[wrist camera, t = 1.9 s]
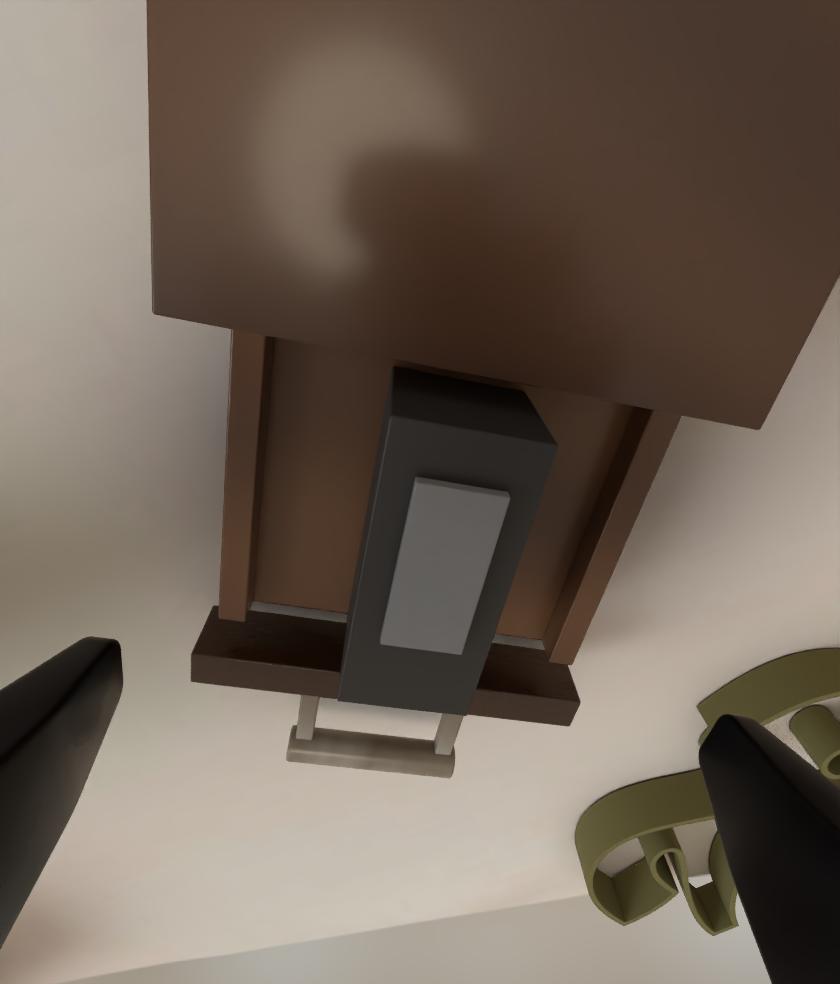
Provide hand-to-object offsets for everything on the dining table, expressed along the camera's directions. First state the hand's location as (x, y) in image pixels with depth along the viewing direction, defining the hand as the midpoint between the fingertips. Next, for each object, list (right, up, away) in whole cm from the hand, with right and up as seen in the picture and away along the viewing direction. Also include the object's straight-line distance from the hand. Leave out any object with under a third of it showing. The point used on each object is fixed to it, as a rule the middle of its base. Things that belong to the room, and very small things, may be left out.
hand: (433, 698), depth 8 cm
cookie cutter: (+15, -11, +15) cm, 24 cm away
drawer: (0, +1, +10) cm, 10 cm away
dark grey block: (0, +2, +8) cm, 8 cm away
